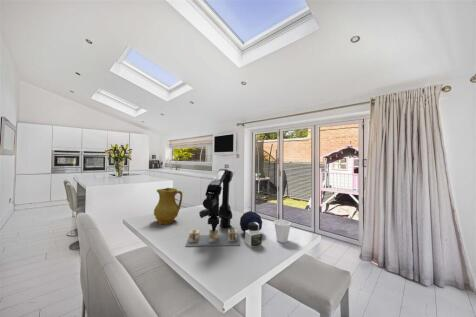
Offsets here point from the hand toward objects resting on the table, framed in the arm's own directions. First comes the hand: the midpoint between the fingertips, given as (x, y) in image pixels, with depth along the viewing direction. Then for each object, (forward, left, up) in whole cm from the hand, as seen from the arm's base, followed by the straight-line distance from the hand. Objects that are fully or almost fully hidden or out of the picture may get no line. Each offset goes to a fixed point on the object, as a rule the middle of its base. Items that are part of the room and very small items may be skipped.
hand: (213, 231), depth 112 cm
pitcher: (+11, -48, -6) cm, 50 cm away
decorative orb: (-25, +5, -6) cm, 26 cm away
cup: (-33, +24, -6) cm, 41 cm away
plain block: (0, 0, -5) cm, 5 cm away
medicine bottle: (-16, +17, -6) cm, 24 cm away
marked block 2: (-9, +6, -5) cm, 12 cm away
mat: (0, 0, -6) cm, 6 cm away
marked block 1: (+9, -6, -5) cm, 12 cm away
